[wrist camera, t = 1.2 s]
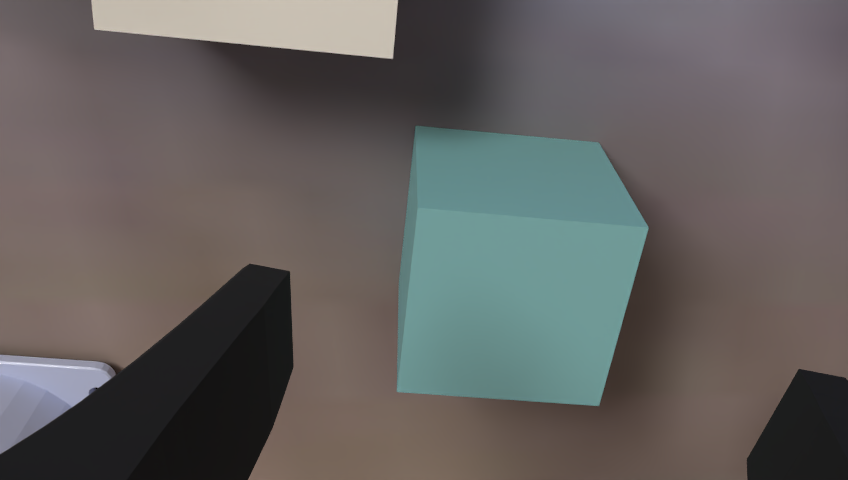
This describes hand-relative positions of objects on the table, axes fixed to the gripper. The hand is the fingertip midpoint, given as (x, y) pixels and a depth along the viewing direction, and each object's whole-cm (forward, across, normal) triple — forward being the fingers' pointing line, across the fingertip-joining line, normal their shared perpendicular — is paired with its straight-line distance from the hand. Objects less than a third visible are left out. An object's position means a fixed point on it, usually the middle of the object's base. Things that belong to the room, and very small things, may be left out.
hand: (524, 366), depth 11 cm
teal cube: (+10, +1, +5) cm, 11 cm away
